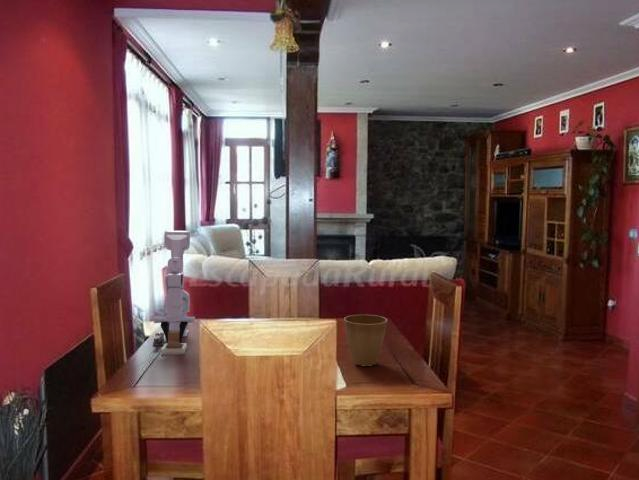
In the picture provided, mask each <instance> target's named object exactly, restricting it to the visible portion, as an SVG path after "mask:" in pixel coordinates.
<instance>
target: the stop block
mask: <svg viewBox="0 0 639 480" xmlns="http://www.w3.org/2000/svg"><path fill="white" fill-rule="evenodd" d="M179 338H180V330H169V332H168V349H169V348H180V346H181V343H180V342H179Z"/></svg>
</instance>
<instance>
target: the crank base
mask: <svg viewBox="0 0 639 480" xmlns="http://www.w3.org/2000/svg"><path fill="white" fill-rule="evenodd" d="M165 343H166V340H164V342H160V343H159V344H154V341H152V346H153V347H163V346H164V344H165Z"/></svg>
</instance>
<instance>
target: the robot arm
mask: <svg viewBox="0 0 639 480" xmlns="http://www.w3.org/2000/svg"><path fill="white" fill-rule="evenodd" d="M163 237H164V238H163V239H164V247H165V249H166V250H168V251H170V255H171V256H170V258H169V259H168V261H167V266H166V267H167V271H166V275H165V276H164V287H165V294H166V295H165V302H164V311H165V314H166V315H165V316H154V317H153V324H160V328H161V330H162V331H163V332H162V333H164V339H165V341H166V343H168V332H169V330H180V338H179V342H180V343H183V338H184V337H187V335H188V334H189V331H190V330H189V329H187V326H188V323H189V324H190V323H191V324H195V322H196V321H195V320H196V316H188V315H187V313H189V312H190V310H191V309H190V307H191V306H190V305H191V299H190V294H189V292H188V291H187V290H184V286H185V275H184V253H185V251H188V250H189V249H190V246H191V245H190V244H191V232H190V230H167V229H166V230H165V231H164V236H163Z"/></svg>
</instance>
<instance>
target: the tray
mask: <svg viewBox="0 0 639 480" xmlns="http://www.w3.org/2000/svg"><path fill="white" fill-rule="evenodd" d="M187 349H188V344H187V342H184V343H183V342H182V343H181V346H180V348H169V349H168V343H165V344H164V346H161V349H160V355H162V356H163V355H164V356H167V355H169V356H170V355H173V356H174V355H175V356H176V355H178V356H179V355H182V356H183V355H185V354H186V352H187V351H186V350H187Z"/></svg>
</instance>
